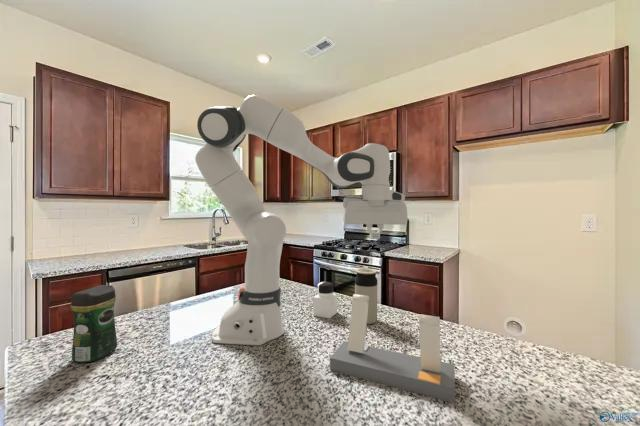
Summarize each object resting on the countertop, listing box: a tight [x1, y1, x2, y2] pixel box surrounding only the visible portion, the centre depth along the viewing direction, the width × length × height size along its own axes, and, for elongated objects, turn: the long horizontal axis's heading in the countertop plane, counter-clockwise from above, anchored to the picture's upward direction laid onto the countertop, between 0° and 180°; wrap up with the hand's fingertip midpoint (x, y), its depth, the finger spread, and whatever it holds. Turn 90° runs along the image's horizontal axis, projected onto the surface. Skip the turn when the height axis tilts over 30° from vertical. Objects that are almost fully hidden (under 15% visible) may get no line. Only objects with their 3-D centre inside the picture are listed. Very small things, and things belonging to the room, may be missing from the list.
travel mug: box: [354, 267, 378, 325], centre depth 102 cm, size 8×8×18 cm
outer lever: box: [418, 313, 441, 373], centre depth 63 cm, size 4×2×14 cm, turn 65°
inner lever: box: [347, 293, 369, 353], centre depth 75 cm, size 4×2×14 cm, turn 65°
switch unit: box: [329, 340, 456, 404], centre depth 69 cm, size 28×10×3 cm, turn 65°
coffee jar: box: [70, 284, 118, 364], centre depth 77 cm, size 10×8×19 cm
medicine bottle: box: [312, 281, 338, 319], centre depth 108 cm, size 7×7×12 cm
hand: (374, 238), depth 90 cm, fingers closed
